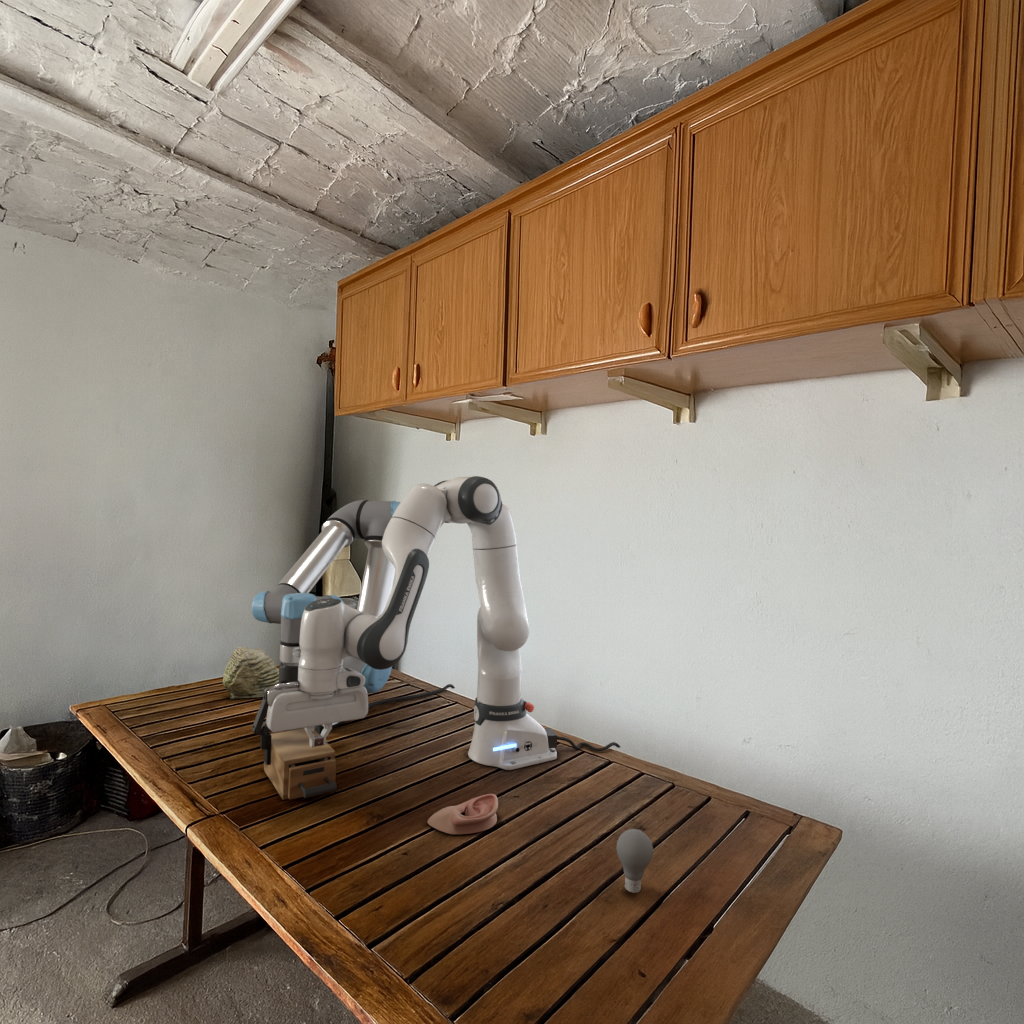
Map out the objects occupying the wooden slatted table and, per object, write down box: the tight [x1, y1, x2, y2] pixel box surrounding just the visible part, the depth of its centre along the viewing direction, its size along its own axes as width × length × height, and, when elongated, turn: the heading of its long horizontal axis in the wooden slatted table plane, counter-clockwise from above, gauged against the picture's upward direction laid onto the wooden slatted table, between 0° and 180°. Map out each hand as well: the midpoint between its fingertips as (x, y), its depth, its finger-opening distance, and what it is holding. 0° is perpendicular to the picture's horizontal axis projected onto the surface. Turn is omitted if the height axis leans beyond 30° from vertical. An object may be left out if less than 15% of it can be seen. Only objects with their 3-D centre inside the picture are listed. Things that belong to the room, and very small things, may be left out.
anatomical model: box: [427, 793, 499, 836], centre depth 126 cm, size 13×4×12 cm
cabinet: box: [263, 728, 336, 801], centre depth 141 cm, size 16×11×8 cm, turn 35°
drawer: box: [288, 757, 338, 801], centre depth 137 cm, size 20×10×6 cm, turn 35°
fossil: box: [222, 646, 279, 699], centre depth 198 cm, size 9×18×15 cm, turn 132°
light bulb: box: [615, 828, 654, 894], centre depth 106 cm, size 6×6×10 cm
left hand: (293, 757), depth 145 cm, fingers closed on cabinet, 11 cm apart
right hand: (317, 745), depth 130 cm, fingers closed
